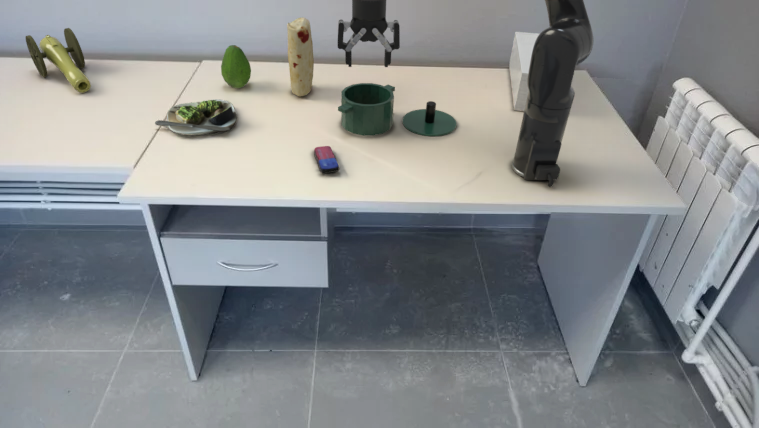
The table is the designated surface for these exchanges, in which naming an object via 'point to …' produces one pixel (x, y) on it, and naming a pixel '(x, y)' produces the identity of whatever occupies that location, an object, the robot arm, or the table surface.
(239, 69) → the avocado
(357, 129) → the pot
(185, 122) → the salad plate
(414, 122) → the lid
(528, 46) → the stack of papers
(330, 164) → the eraser
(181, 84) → the table surface
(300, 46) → the food model
